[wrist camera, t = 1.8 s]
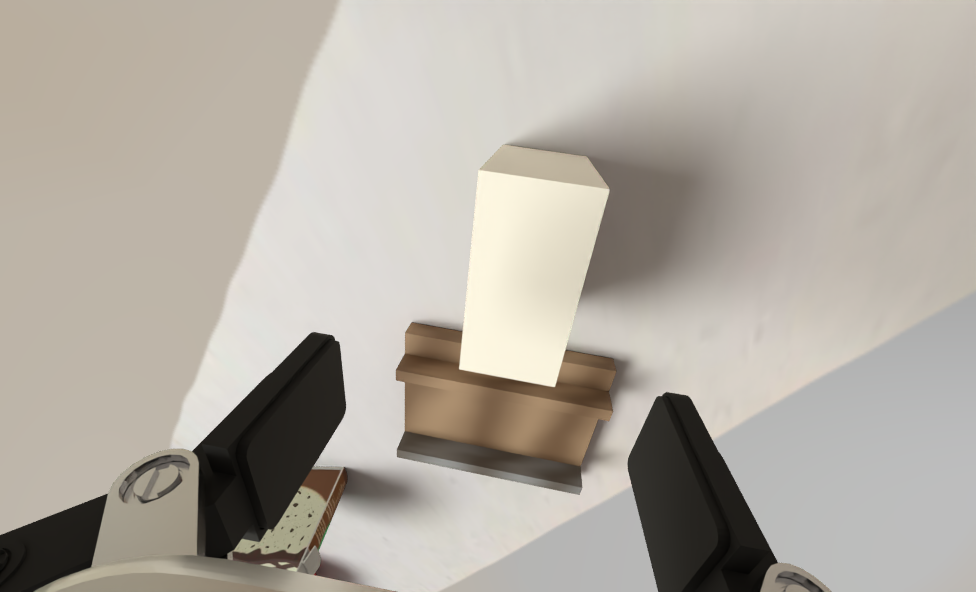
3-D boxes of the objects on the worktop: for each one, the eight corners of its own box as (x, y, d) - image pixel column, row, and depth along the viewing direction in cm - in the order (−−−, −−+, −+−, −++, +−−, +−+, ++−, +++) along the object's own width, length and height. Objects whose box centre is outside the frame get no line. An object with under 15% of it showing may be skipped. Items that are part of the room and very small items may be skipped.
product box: (586, 156, 21) (609, 189, 13) (552, 301, 26) (554, 387, 18) (499, 143, 22) (473, 169, 14) (482, 289, 27) (455, 368, 19)
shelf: (613, 358, 28) (621, 390, 25) (571, 472, 35) (573, 508, 32) (411, 322, 29) (395, 348, 26) (410, 439, 36) (397, 471, 33)
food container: (283, 498, 44) (219, 595, 36) (260, 465, 42) (185, 562, 33) (374, 502, 42) (329, 607, 33) (356, 467, 39) (302, 572, 30)
